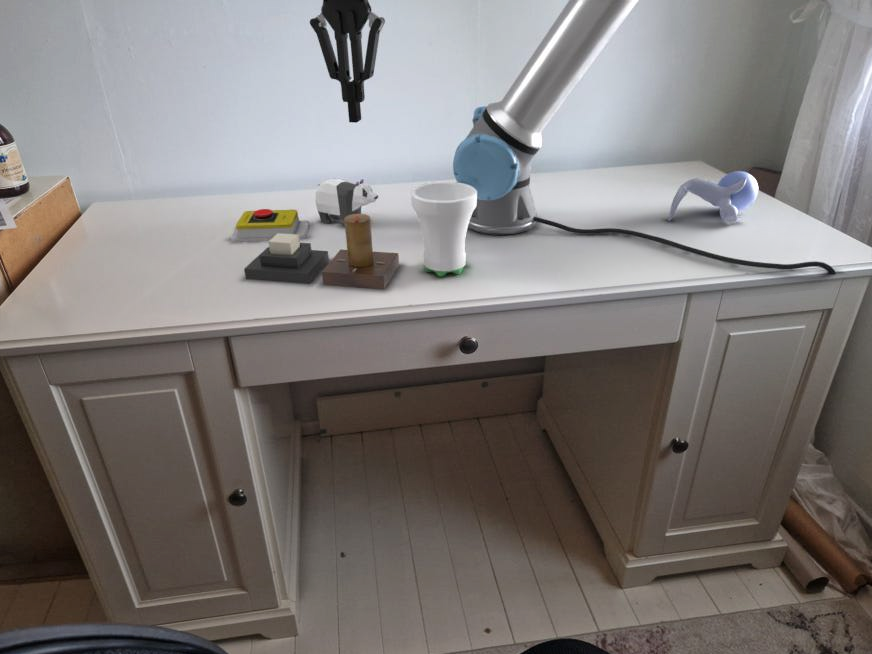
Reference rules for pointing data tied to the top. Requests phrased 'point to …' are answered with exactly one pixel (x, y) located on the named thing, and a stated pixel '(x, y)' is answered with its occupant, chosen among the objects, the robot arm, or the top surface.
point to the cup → (444, 223)
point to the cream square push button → (284, 244)
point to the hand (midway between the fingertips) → (355, 120)
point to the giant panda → (342, 199)
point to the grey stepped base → (288, 265)
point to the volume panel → (361, 271)
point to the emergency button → (268, 225)
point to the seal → (721, 193)
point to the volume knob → (359, 240)
